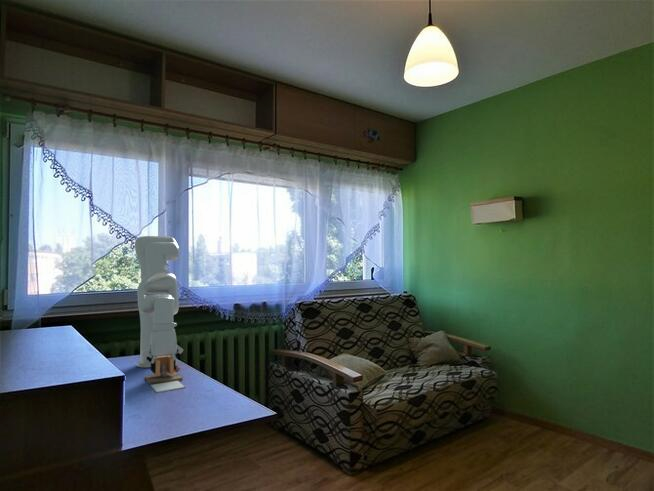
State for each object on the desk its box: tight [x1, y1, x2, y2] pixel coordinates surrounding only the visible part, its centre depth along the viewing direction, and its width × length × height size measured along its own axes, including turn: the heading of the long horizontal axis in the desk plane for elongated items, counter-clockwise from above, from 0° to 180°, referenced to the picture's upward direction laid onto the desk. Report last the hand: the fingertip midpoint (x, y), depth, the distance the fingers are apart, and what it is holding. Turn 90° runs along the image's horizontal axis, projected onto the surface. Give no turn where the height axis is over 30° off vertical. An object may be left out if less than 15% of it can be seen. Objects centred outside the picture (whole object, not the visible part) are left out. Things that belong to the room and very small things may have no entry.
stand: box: [144, 365, 184, 386], centre depth 169 cm, size 12×12×6 cm
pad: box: [150, 381, 186, 393], centre depth 158 cm, size 10×10×1 cm
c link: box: [153, 355, 174, 376], centre depth 169 cm, size 7×7×6 cm
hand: (163, 370), depth 169 cm, fingers closed on c link, 6 cm apart
